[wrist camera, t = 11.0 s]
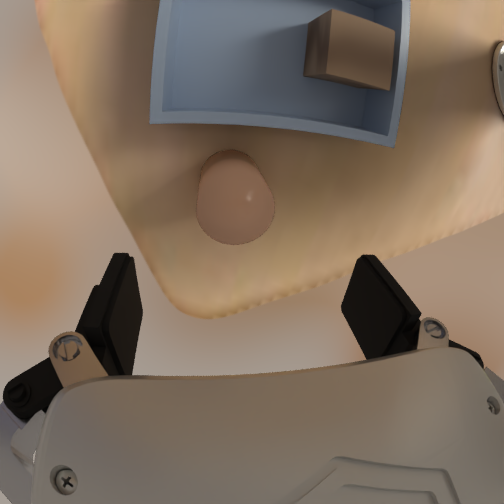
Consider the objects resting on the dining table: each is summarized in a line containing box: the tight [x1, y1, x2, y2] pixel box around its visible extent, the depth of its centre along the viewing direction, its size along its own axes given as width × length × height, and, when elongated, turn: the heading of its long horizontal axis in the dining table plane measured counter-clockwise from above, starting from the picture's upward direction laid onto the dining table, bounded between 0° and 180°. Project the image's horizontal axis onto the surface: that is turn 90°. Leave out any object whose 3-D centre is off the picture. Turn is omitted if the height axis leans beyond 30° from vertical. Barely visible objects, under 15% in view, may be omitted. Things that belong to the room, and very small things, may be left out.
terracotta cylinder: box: [196, 150, 275, 245], centre depth 21 cm, size 5×5×7 cm
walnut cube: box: [303, 9, 395, 91], centre depth 16 cm, size 5×5×5 cm
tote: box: [150, 0, 410, 148], centre depth 16 cm, size 18×14×5 cm
